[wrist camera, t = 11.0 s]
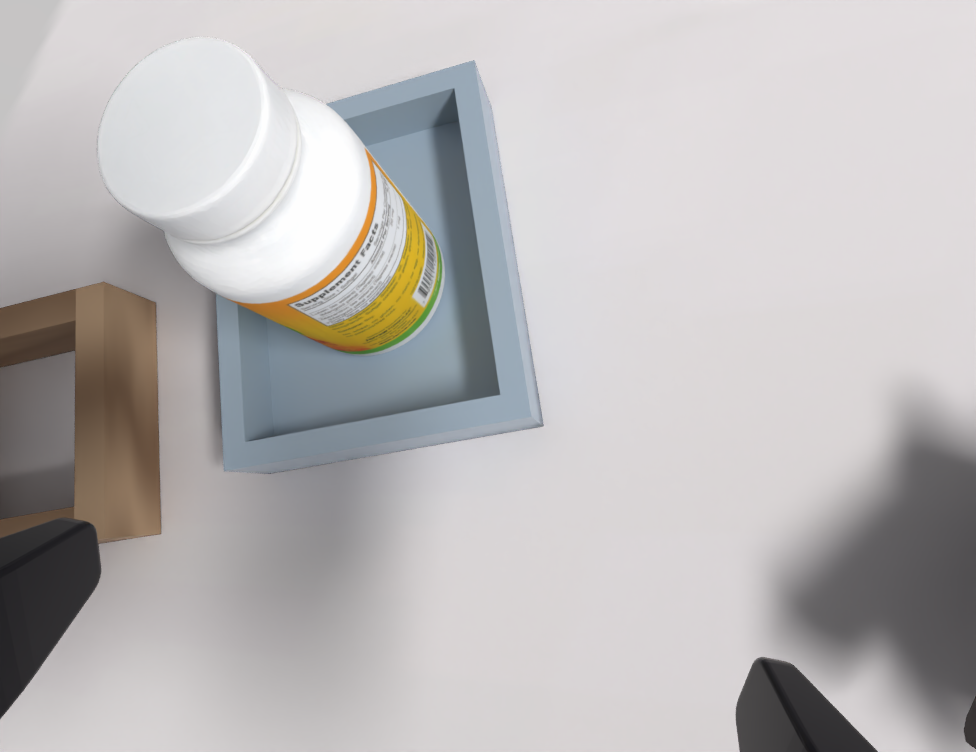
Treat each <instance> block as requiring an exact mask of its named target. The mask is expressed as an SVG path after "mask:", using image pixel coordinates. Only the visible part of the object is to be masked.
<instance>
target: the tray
mask: <svg viewBox="0 0 976 752" xmlns="http://www.w3.org/2000/svg"><path fill="white" fill-rule="evenodd" d="M326 105H328V106H329V107H330V108H332V109H333V110H334V111H335V112H336V113H337V114H338V115H339V116H340V117H341V118H342V119H343V120H344V121H345V122H346V123H347V124H348V125H349V127H350V128H351V129H352V130H353V131H354V132H355V134H356V135H357V136H358V137H359V139H360V140H361V141H362V143H363V144H364V145H365V147H366V148H367V149H368V150H369V152H370V153H371V154H372V156H373V157H374V158H375V160H376V161H377V162H378V163H379V165H380V166H381V167H382V168H383V170H384V171H385V172H386V174H387V175H388V176H389V177H390V179H391V180H392V181H393V182H394V184H395V185H396V186H397V187H398V189H399V190H400V191H401V193H402V194H403V195H404V196H405V198H406V199H407V200H408V201H409V203H410V204H411V205H412V206H413V208H414V209H415V210H416V212H417V213H418V214H419V215H420V217H421V218H422V219H423V220H424V222H425V223H426V224H427V226H428V227H429V228H430V230H431V231H432V233H433V234H434V236H435V238H436V240H437V241H438V244H439V246H440V249H441V252H442V255H443V259H444V266H445V281H444V288H443V292H442V296H441V299H440V302H439V304H438V307H437V309H436V311H435V313H434V314H433V316H432V318H431V319H430V321H429V322H428V324H427V325H426V326H425V327H424V328H423V329H422V331H421V332H420V333H419V334H417V335H416V336H415V337H414V338H413V339H411V340H410V341H409V342H407V343H406V344H404V345H402V346H400V347H398V348H396V349H394V350H392V351H390V352H386V353H383V354H378V355H373V356H355V355H349V354H346V353H342V352H339V351H337V350H334V349H332V348H329V347H327V346H325V345H323V344H321V343H318V342H316V341H314V340H312V339H310V338H308V337H306V336H304V335H301V334H299V333H297V332H295V331H293V330H291V329H289V328H287V327H285V326H282V325H280V324H278V323H276V322H274V321H272V320H270V319H268V318H266V317H264V316H262V315H260V314H258V313H256V312H254V311H251V310H249V309H247V308H245V307H243V306H241V305H239V304H237V303H235V302H232V301H230V300H228V299H226V298H224V297H222V296H220V295H218V294H217V293H216V311H217V332H218V354H219V376H220V397H221V419H222V440H223V462H224V471H230V472H247V473H263V474H271V473H276V472H282V471H288V470H294V469H299V468H305V467H311V466H317V465H323V464H328V463H334V462H340V461H346V460H352V459H357V458H363V457H369V456H375V455H380V454H386V453H392V452H398V451H404V450H409V449H415V448H421V447H427V446H433V445H438V444H444V443H450V442H456V441H461V440H467V439H473V438H479V437H485V436H490V435H496V434H502V433H508V432H514V431H519V430H525V429H531V428H537V427H542V426H544V425H543V419H542V413H541V407H540V401H539V394H538V388H537V382H536V376H535V370H534V364H533V358H532V352H531V346H530V340H529V334H528V327H527V321H526V315H525V309H524V303H523V297H522V291H521V285H520V279H519V273H518V266H517V260H516V254H515V248H514V242H513V236H512V230H511V224H510V218H509V212H508V205H507V199H506V193H505V187H504V181H503V175H502V169H501V163H500V157H499V151H498V144H497V138H496V132H495V126H494V120H493V114H492V108H491V104H490V101H489V99H488V96H487V93H486V91H485V88H484V85H483V82H482V80H481V77H480V74H479V72H478V69H477V66H476V63H475V61H474V60H473V61H470V62H466V63H463V64H460V65H456V66H453V67H450V68H446V69H443V70H439V71H436V72H433V73H429V74H426V75H423V76H419V77H416V78H412V79H409V80H406V81H402V82H399V83H396V84H392V85H389V86H385V87H382V88H379V89H375V90H372V91H369V92H365V93H362V94H359V95H355V96H352V97H348V98H345V99H342V100H338V101H335V102H332V103H328V104H326Z"/></svg>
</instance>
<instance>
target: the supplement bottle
mask: <svg viewBox="0 0 976 752" xmlns="http://www.w3.org/2000/svg"><path fill="white" fill-rule="evenodd" d="M97 158H98V166H99V170H100V174H101V177H102V179H103V181H104V184H105V186H106V188H107V189H108V191H109V192H110V194H111V195H112V196H113V197H114V199H115V200H116V201H117V202H118V203H119V204H120V205H122V206H123V207H124V208H125V209H127V210H128V211H130V212H131V213H133V214H134V215H136V216H138V217H140V218H141V219H143V220H145V221H146V222H148V223H150V224H152V225H153V226H155V227H157V228H159V229H161V230H163V231H164V234H165V237H166V240H167V243H168V245H169V248H170V250H171V251H172V253H173V255H174V257H175V258H176V260H177V261H178V263H179V264H180V265H181V266H182V268H183V269H184V270H185V271H186V272H187V273H188V274H189V275H190V276H191V277H192V278H193V279H194V280H195V281H197V282H198V283H200V284H201V285H203V286H204V287H206V288H208V289H209V290H211V291H213V292H215V293H217V294H218V295H220V296H222V297H224V298H226V299H228V300H230V301H232V302H235V303H237V304H239V305H241V306H243V307H245V308H247V309H249V310H251V311H254V312H256V313H258V314H260V315H262V316H264V317H266V318H268V319H270V320H272V321H274V322H276V323H278V324H280V325H282V326H285V327H287V328H289V329H291V330H293V331H295V332H297V333H299V334H301V335H304V336H306V337H308V338H310V339H312V340H314V341H316V342H318V343H321V344H323V345H325V346H327V347H329V348H332V349H334V350H337V351H339V352H342V353H346V354H349V355H355V356H373V355H378V354H383V353H386V352H390V351H392V350H394V349H396V348H398V347H400V346H402V345H404V344H406V343H407V342H409V341H410V340H411V339H413V338H414V337H415V336H416V335H417V334H419V333H420V332H421V331H422V329H423V328H424V327H425V326H426V325H427V324H428V322H429V321H430V319H431V318H432V316H433V314H434V313H435V311H436V309H437V307H438V304H439V302H440V299H441V296H442V292H443V288H444V281H445V266H444V259H443V255H442V252H441V249H440V246H439V244H438V241H437V240H436V238H435V236H434V234H433V233H432V231H431V230H430V228H429V227H428V226H427V224H426V223H425V222H424V220H423V219H422V218H421V217H420V215H419V214H418V213H417V212H416V210H415V209H414V208H413V206H412V205H411V204H410V203H409V201H408V200H407V199H406V198H405V196H404V195H403V194H402V193H401V191H400V190H399V189H398V187H397V186H396V185H395V184H394V182H393V181H392V180H391V179H390V177H389V176H388V175H387V174H386V172H385V171H384V170H383V168H382V167H381V166H380V165H379V163H378V162H377V161H376V160H375V158H374V157H373V156H372V154H371V153H370V152H369V150H368V149H367V148H366V147H365V145H364V144H363V143H362V141H361V140H360V139H359V137H358V136H357V135H356V134H355V132H354V131H353V130H352V129H351V128H350V127H349V125H348V124H347V123H346V122H345V121H344V120H343V119H342V118H341V117H340V116H339V115H338V114H337V113H336V112H335V111H334V110H333V109H332V108H330V107H329V106H328V105H326V104H325V103H323V102H322V101H320V100H318V99H316V98H314V97H312V96H310V95H307V94H305V93H302V92H299V91H295V90H291V89H283V88H281V87H280V86H279V85H278V84H277V83H276V82H275V81H274V80H273V79H272V78H271V77H270V76H269V75H268V74H267V73H266V72H265V71H264V70H263V69H262V68H261V67H260V66H259V65H258V64H257V62H256V61H255V60H254V59H253V58H252V57H251V56H250V55H249V54H248V53H247V52H245V51H244V50H242V49H241V48H239V47H238V46H236V45H235V44H233V43H230V42H227V41H225V40H222V39H217V38H211V37H192V38H186V39H181V40H179V41H176V42H173V43H170V44H167V45H165V46H163V47H161V48H159V49H157V50H156V51H154V52H153V53H151V54H149V55H148V56H146V57H145V58H144V59H143V60H141V61H140V62H139V63H138V64H136V65H135V66H134V67H133V68H132V69H131V70H130V71H129V72H128V74H127V75H126V76H125V77H124V78H123V80H122V81H121V82H120V84H119V85H118V86H117V88H116V89H115V91H114V92H113V94H112V96H111V98H110V100H109V101H108V104H107V106H106V108H105V111H104V113H103V116H102V119H101V123H100V126H99V130H98V137H97Z"/></svg>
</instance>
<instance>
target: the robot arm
mask: <svg viewBox="0 0 976 752" xmlns="http://www.w3.org/2000/svg"><path fill="white" fill-rule="evenodd" d="M100 576H101V562H100V554H99V546H98V537H97V531H96V528H95V527H94V525H93V524H92V523H90V522H87V521H82V520H77V519H72V518H64V517H63V518H57V519H54V520H51V521H48V522H45V523H42V524H40V525H37V526H34V527H31V528H28V529H25V530H22V531H19V532H16V533H13V534H10V535H7V536H4V537H1V538H0V719H1V718H2V716H3V715H4V714H5V713H6V712H7V710H8V709H9V708H10V707H11V705H12V704H13V703H14V702H15V700H16V699H17V698H18V697H19V695H20V694H21V693H22V692H23V690H24V689H25V688H26V686H27V685H28V684H29V682H30V681H31V680H32V678H33V677H34V676H35V674H36V673H37V671H38V670H39V668H40V667H41V666H42V664H43V663H44V661H45V660H46V658H47V657H48V656H49V654H50V653H51V651H52V650H53V648H54V647H55V646H56V644H57V643H58V641H59V640H60V638H61V637H62V636H63V634H64V633H65V631H66V630H67V628H68V627H69V626H70V624H71V623H72V621H73V620H74V618H75V617H76V616H77V614H78V613H79V611H80V610H81V608H82V607H83V606H84V604H85V603H86V601H87V600H88V598H89V597H90V596H91V594H92V593H93V591H94V590H95V588H96V586H97V584H98V582H99V579H100ZM736 726H737V734H738V741H739V749H740V752H878V751H877V750H876V749H875V748H874V747H873V746H872V745H871V744H870V743H869V742H868V741H867V740H866V739H865V738H864V737H863V736H862V735H861V734H860V733H859V732H858V731H857V730H856V729H855V728H854V727H853V726H852V725H851V723H850V722H849V721H848V720H847V719H846V718H845V717H844V716H843V715H842V714H841V713H840V712H839V711H838V710H837V709H836V708H835V707H834V706H833V705H832V704H831V703H830V702H829V701H828V700H827V699H826V698H825V697H824V696H823V695H822V694H821V693H820V692H819V691H818V689H817V688H816V687H815V686H814V685H813V684H812V683H811V682H810V681H809V680H808V679H807V678H806V677H805V676H804V675H803V674H802V673H801V672H800V671H799V670H798V669H797V668H796V667H795V666H794V665H792V664H791V663H788V662H786V661H781V660H776V659H771V658H766V657H760V658H757V659H756V660H755V661H754V663H753V665H752V667H751V669H750V672H749V674H748V677H747V679H746V681H745V684H744V686H743V689H742V691H741V694H740V696H739V699H738V702H737V706H736Z"/></svg>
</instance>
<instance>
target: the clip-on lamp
mask: <svg viewBox="0 0 976 752" xmlns="http://www.w3.org/2000/svg"><path fill="white" fill-rule="evenodd" d="M964 734H965V739H966V742H967V743H969V744H970V745H971V746H972V747H974V748H975V749H976V696H975V699H974V701H973V703H972V706H971V708H970V710H969V712H968V715H967V717H966V722H965V727H964Z"/></svg>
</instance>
